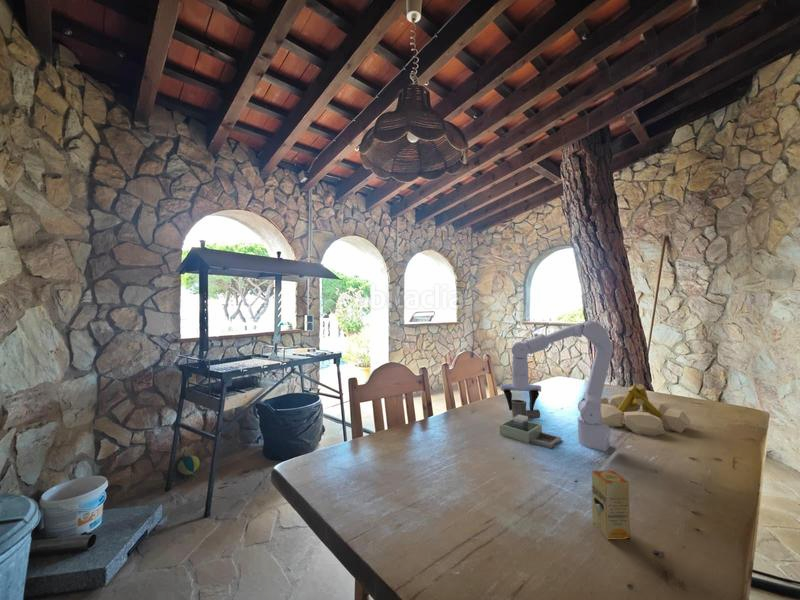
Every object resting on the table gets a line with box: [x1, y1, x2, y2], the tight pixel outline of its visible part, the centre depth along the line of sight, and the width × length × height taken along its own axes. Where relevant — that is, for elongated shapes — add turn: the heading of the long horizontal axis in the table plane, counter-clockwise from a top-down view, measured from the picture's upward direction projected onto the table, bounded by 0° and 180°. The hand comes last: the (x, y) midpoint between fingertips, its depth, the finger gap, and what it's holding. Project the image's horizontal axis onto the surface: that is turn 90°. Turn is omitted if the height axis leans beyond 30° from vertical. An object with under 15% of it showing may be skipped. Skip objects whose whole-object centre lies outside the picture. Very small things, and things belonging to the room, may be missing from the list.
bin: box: [499, 417, 543, 444], centre depth 125 cm, size 11×11×5 cm
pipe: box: [511, 399, 541, 420], centre depth 144 cm, size 6×13×8 cm, turn 88°
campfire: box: [600, 382, 691, 437], centre depth 141 cm, size 35×34×17 cm
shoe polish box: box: [591, 470, 631, 539], centre depth 72 cm, size 5×5×12 cm
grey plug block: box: [512, 415, 529, 432], centre depth 124 cm, size 4×5×7 cm
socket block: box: [528, 431, 563, 450], centre depth 118 cm, size 10×10×2 cm
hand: (520, 409), depth 125 cm, fingers open, 7 cm apart
